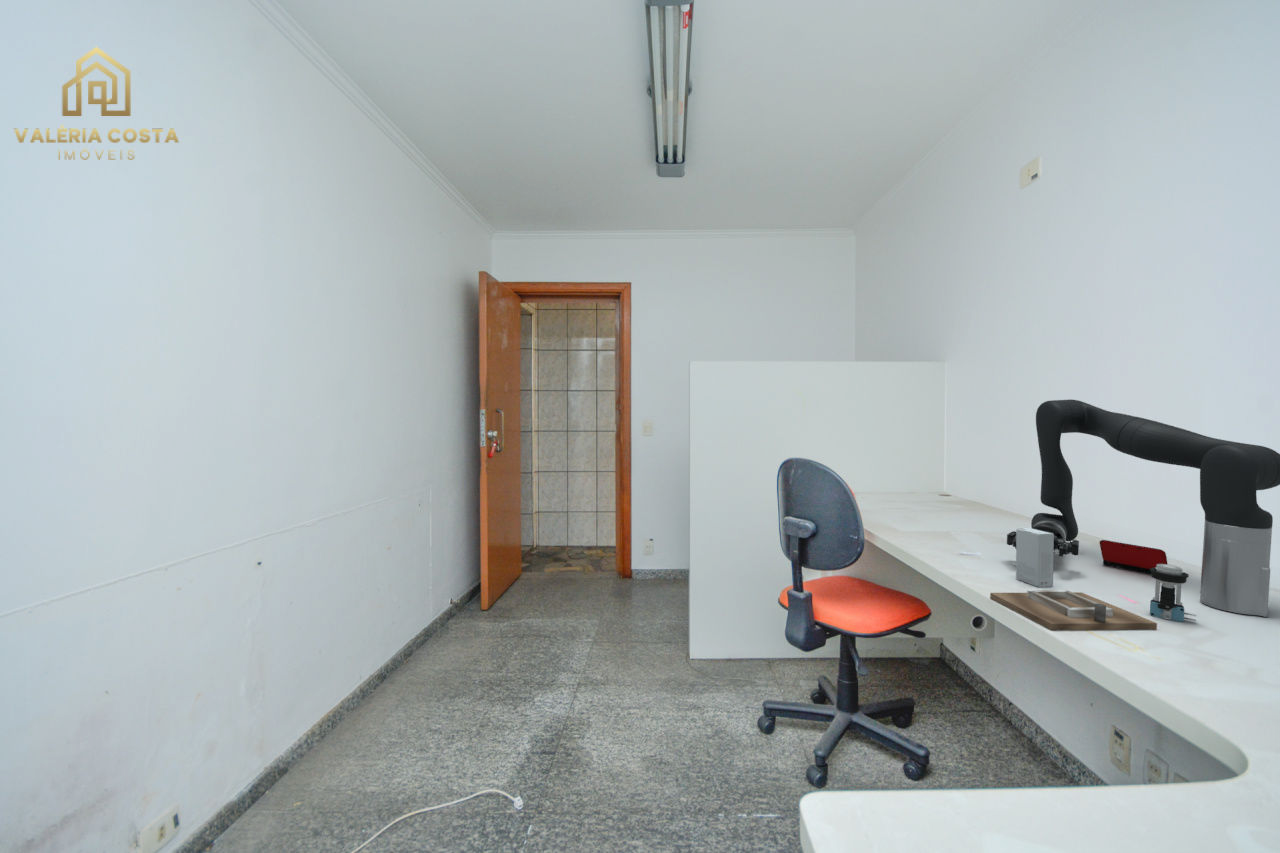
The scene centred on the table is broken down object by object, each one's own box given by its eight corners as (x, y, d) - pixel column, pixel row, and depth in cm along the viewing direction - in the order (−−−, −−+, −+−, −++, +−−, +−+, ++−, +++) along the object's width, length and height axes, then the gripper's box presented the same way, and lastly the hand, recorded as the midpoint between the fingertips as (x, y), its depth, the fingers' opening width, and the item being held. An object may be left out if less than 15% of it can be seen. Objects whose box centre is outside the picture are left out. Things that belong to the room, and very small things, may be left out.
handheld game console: (1177, 574, 134) (1179, 544, 133) (1163, 581, 128) (1165, 550, 127) (1112, 561, 144) (1114, 533, 144) (1097, 567, 138) (1098, 538, 138)
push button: (1194, 619, 104) (1197, 568, 104) (1197, 627, 100) (1200, 574, 100) (1147, 610, 109) (1150, 560, 108) (1147, 617, 105) (1150, 566, 104)
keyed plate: (1081, 598, 115) (1082, 578, 115) (1156, 629, 99) (1157, 606, 99) (990, 598, 114) (991, 578, 114) (1051, 630, 98) (1052, 607, 98)
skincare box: (1054, 586, 122) (1056, 533, 122) (1037, 587, 121) (1040, 534, 121) (1029, 577, 128) (1031, 527, 128) (1013, 579, 127) (1015, 527, 127)
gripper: (1014, 518, 146) (1003, 527, 134) (1082, 526, 137) (1077, 538, 125) (1013, 545, 147) (1002, 557, 135) (1081, 556, 137) (1076, 570, 125)
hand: (1038, 548), depth 130 cm, fingers open, 8 cm apart
